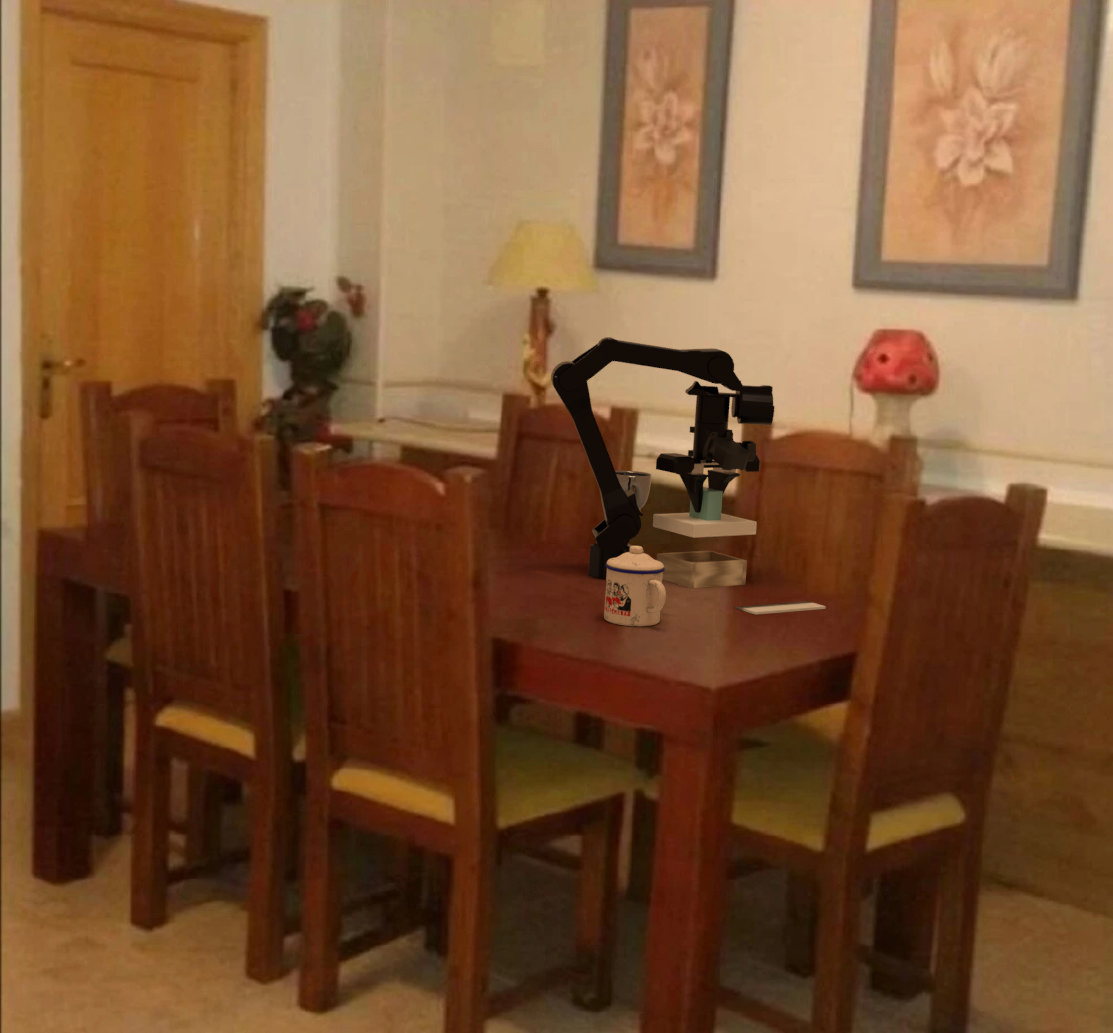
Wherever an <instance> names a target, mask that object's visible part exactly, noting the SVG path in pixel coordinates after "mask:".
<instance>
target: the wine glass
mask: <svg viewBox="0 0 1113 1033" xmlns="http://www.w3.org/2000/svg"><path fill="white" fill-rule="evenodd" d="M615 472H616V475H617V477H618V480H619V483H620V485H621V487H622V488H623V490H624V492H627V491H629V490H630V489H632V491H633V492H634V493H635V496H636V501H637V506H638V508H639V509H640V510H641V509H642V508H643V507H644V506H645V504H646V503H647V501H648V498H649V495H650V490H651V483H652V474H651V473H649V472H644V471H635V470H615ZM627 546H630V547H631V546H632V545H631V544H630V542H629V543H628V545H627ZM629 552H630V550H629ZM642 553H645V550H644V549H643V552H642Z"/></svg>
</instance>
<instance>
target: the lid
mask: <svg viewBox="0 0 1113 1033" xmlns="http://www.w3.org/2000/svg"><path fill="white" fill-rule="evenodd" d="M722 495H724V494H723V491H720V490H715V489H711V488H708V487H706V486H703V495H702V506H701V511H700V513H697V512H695V511H694V508H693V505H692V503H691V500H690V499H689V500H690V501H689V512H673V513H672V512H671V513H653V517H652V527H653V528H656V529H659V530H664V531H668V532H672V533H674V534H675V533H676V534H678V535H681V536H686V537H690V538H713V537H732V536H733V537H734V536H748V535H749V536H750V535H752V536H753V535H757V523H758V522H757V521H755V520H751V519H747V518H743V517H738V516H733V515H731V514H727V513H722V507H723V496H722Z"/></svg>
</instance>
